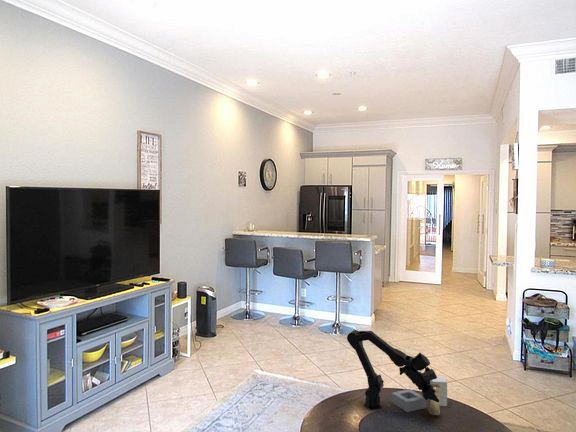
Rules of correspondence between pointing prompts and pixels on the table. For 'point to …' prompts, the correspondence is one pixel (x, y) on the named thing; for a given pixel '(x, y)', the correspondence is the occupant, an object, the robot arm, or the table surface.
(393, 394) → the block
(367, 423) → the table surface
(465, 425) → the table surface
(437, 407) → the brass bushing
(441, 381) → the supplement box
